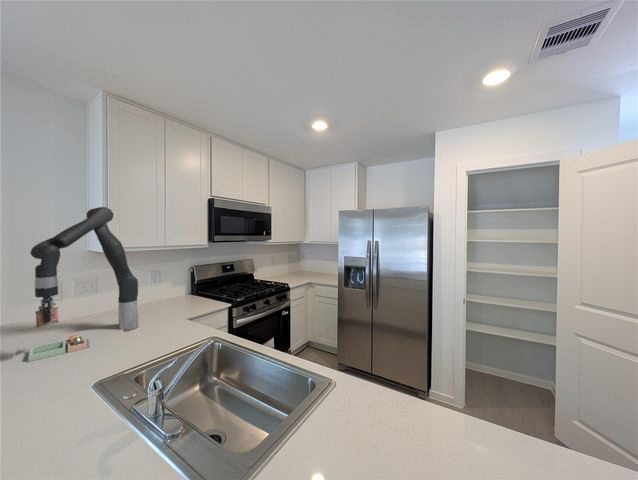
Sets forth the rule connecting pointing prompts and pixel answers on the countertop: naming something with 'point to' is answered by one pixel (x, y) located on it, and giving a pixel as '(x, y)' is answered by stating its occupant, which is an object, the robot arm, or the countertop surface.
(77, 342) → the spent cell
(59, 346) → the divided organizer tray
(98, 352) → the countertop surface
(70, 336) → the button
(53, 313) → the lighter
